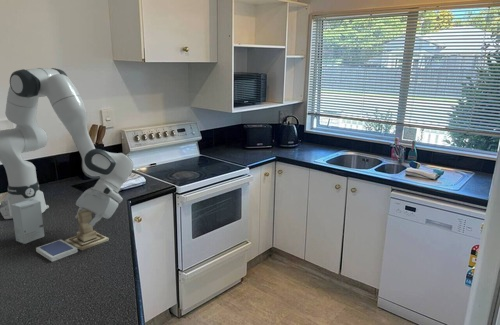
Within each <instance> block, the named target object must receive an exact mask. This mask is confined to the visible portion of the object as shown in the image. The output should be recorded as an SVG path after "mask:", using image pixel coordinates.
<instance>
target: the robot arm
mask: <svg viewBox="0 0 500 325" xmlns="http://www.w3.org/2000/svg"><path fill="white" fill-rule="evenodd" d="M41 97H42V98H44V97H46V98H48V100H49V103H50V105H51V107H52V109H53V112H55V114H56V116H57V117H58V119H59V120H60V122H61V124H62V125H63V126H64V127H65V129H66V130H67V132H68V133H69V135H70V136H71V138H72V140H73V142H74V144H75V146H76V148H77V151H78V153H79V154H80V157H81V169H82V172H83V174H84V175H85V176H86V177H88V178H90V179H94V180H95V179H98V180H97V181H96V183H95V184H94V185H93V186H92V187H90V188H87V189H86V190H85V191H84V192H82V193H81V195H80V196H79V197H78V199H77V200H76V201H75V205H76V206H77V207H79V208H77V212H80V211H83V210H88V211H91V214H95V215H94V217H92V220H90V221H89V222H88V224H89V225H91V226H93V227H94V226H95V225H96V224H97V223H98V222H99V221H101V220H102V218H104V219H105V220H108V219H110V218H111V217H112V216H113V214H114V213H115V212H116V210H117V209H118V207H119V204H121V203H122V202H123V200H124V199H123V197H122V195H120V193H119V192H120V191H121V188H122V186H123V184H124V183H127V182H126V181H127V180H128V179H129V177H130V176H131V173H132V172H133V169H134V162H133V161H132V159H131V158H130V157H129V156H128V155H127V154H125V153H123V152H118V153H117V152H111V151H110V152H109V151H106V150H103V149H100V148H96V147H95V144H94V143H93V140H92V138H91V136H90V133H89V130H88V123H87V121H88V119H87V118H88V114H87V113H88V112H87V109H86V105H85V103H84V101H83V98H82V96H81V94H80V92H79V90H78V89H77V87H76V86H75V85H74V83H73V81H72V80H71V79H70V78H69V77H68V75H67V73H66V72H65V71H64V70H62V69H58V68H55V67H54V68H53V67H52V68H48V67H45V68H44V67H38V68H30V69H24V68H23V69H22V68H21V69H17V70H14V71H13V72H12V73H11V75H10V77H9V88H8V91H7V97H6V105H5V117H6V118H7V120H8V121H10V122H11V123H12V124H15V125H16V126H15V128H10V129H0V163H1V164H2V165H3V167H4V169H5V173H6V176H7V182H8V185H7V193H6V196H4V198H3V200H1V201H0V205H1V207H0V214H1V216H2V217H3V218H4V220H10V219H13V214H12V207H11V205H12V204H16V203H19V202H23V201H27V200H37V201H40V203H41V211H42V214H43V213H44V212H45V211H46V210H47V209H49V208H50V206H49V205H48V204H46V200H45V196H44V192H43V191H42V190H40V184H39V180H38V178H37V171H36V170H37V168H36V166H35V165H34V164H33V162H31V161H28V160H25V159H23V157H22V154H24V153H28V152H29V153H30V152H34V151H37V150H40V149H42V148H45V147H46V145H47V143H48V139H49V138H48V134H47V132H46V131H45V129H43V128H42V127H40V126H39V124H38V122H37V112H38V106H39V105H38V104H39V98H41ZM74 219H76V220H78V214H76V215H75V216H74Z"/></svg>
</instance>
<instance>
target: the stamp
mask: <svg viewBox="0 0 500 325" xmlns="http://www.w3.org/2000/svg"><path fill="white" fill-rule="evenodd" d="M76 213H77V214H78V219H77V220H78V221H77V222H78V231H76V236H77V239H78V240H80V241H82V242H83V243H86V242H88V241H91V240H94V239H96V238H97V236H96V232H97V231H96V230H95V229H93V227H94V226H91V225H89V224H88V222H89V221H90V220H92V219H93V217H92V216H93V215H92V212H91V211H88V210H83V211H80V212H78V211H77V212H76ZM77 214H76V215H77Z"/></svg>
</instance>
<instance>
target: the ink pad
mask: <svg viewBox="0 0 500 325" xmlns="http://www.w3.org/2000/svg"><path fill="white" fill-rule="evenodd" d="M35 251H36V253H38V254H40V255H41V256H42V257H44V258H45V259H47V260H48V261H51V262H55V261H58V260H61V259H63V258H66V257H68V256H71V255H73V254H77V253H78V252H79V249H78V248H76V247H74V246H72V245H71V244H69V243H67V242H65V240H63V239H62V238H61V239H58V240H55V241H52V242H49V243H46V244H43V245H41V246H40V245H39V246H36V247H35Z"/></svg>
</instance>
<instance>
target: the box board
mask: <svg viewBox="0 0 500 325" xmlns="http://www.w3.org/2000/svg"><path fill="white" fill-rule="evenodd" d="M96 236H97V238H96V239H94V240H91V241H88V242H86V243H83V242H82V241H80V240H78V239H77V235H75V236H72V237H69V238H66V239H65V240H64V241H65V242H67V243H69V244H70V245H72V246H74V247H76V248H77V250H80V251H85V250H88V249H89V248H92V247H95V246H97V245H101V244H103V243H106V242H108V241H109V240H110V238H109V237H107V236H104V235H103V234H100V233H99V232H97V231H96Z"/></svg>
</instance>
